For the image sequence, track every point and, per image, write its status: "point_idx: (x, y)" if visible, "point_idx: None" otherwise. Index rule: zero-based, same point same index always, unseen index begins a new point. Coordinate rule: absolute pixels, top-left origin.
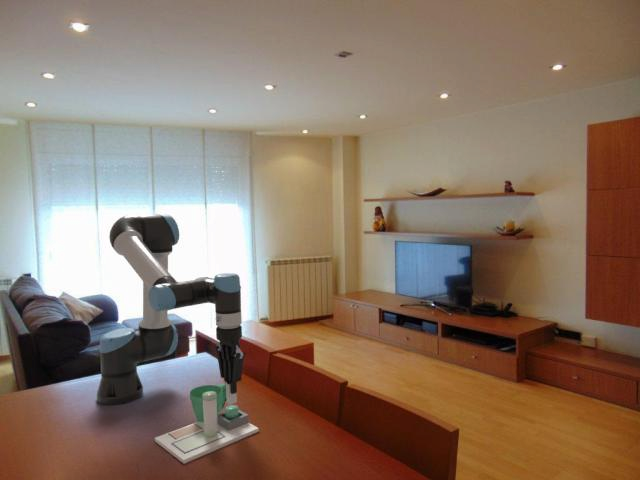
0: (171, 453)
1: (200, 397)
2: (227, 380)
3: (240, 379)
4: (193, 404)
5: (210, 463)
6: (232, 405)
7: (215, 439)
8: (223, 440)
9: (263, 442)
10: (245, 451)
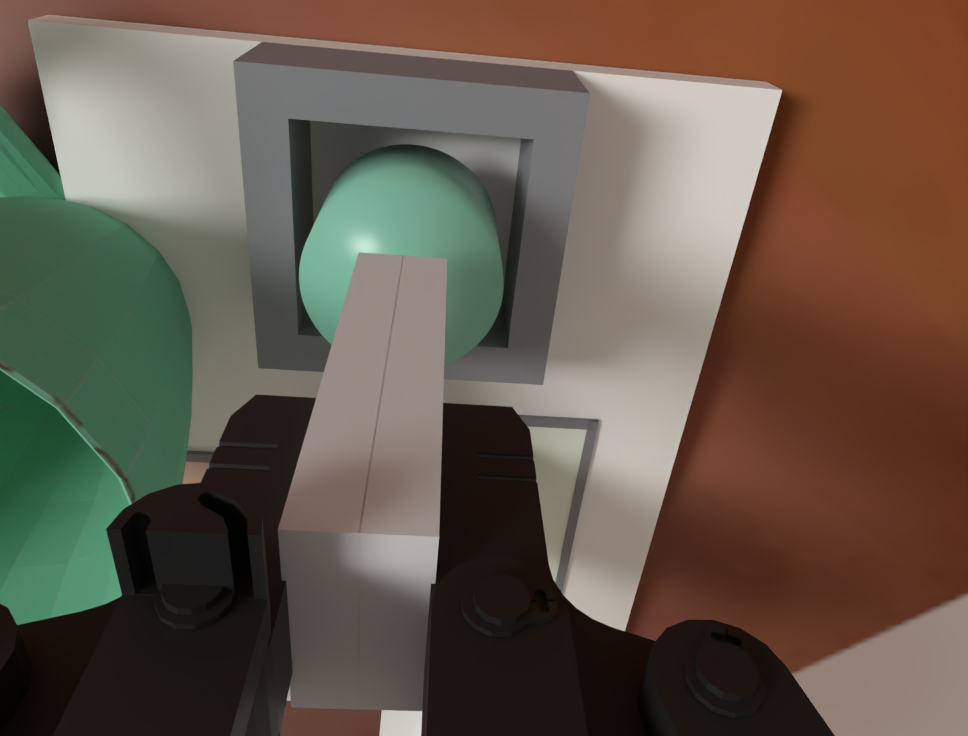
0: None
1: None
2: (284, 709)
3: (784, 702)
4: (10, 587)
5: (743, 610)
6: (331, 224)
7: (567, 493)
8: (633, 460)
9: (952, 215)
10: (877, 406)
